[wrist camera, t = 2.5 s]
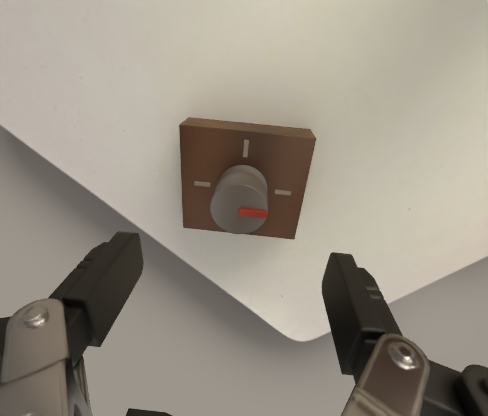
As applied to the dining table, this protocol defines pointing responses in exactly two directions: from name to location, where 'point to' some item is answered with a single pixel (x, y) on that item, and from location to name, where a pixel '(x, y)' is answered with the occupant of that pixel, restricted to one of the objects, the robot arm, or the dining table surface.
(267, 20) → the dining table surface
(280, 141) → the panel
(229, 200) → the volume knob
